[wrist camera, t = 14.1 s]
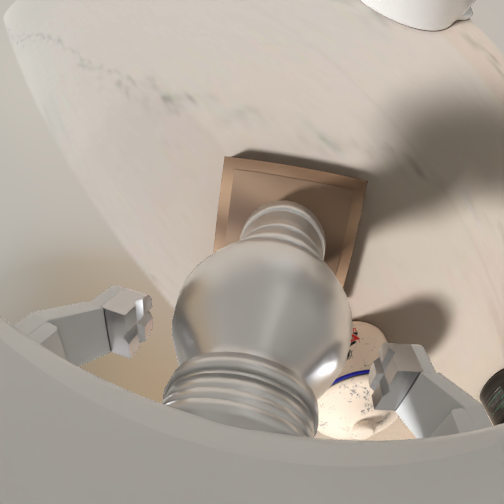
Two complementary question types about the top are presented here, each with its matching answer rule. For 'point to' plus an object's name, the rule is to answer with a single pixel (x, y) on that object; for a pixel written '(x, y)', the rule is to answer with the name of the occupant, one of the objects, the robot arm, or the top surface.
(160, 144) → the top surface
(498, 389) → the supplement bottle
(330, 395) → the teacup with lid
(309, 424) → the plastic bottle
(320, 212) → the display stand
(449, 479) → the robot arm
